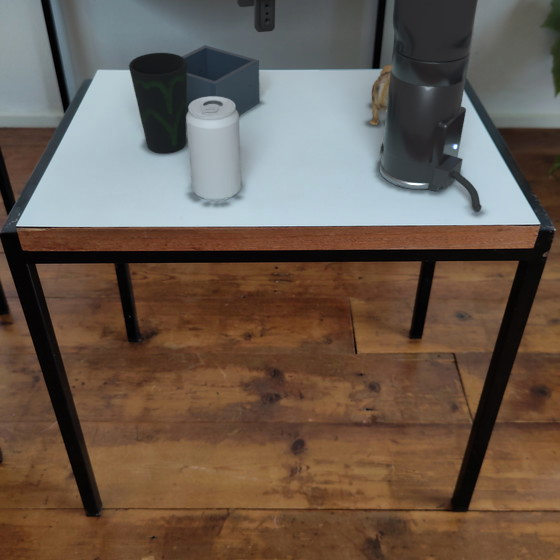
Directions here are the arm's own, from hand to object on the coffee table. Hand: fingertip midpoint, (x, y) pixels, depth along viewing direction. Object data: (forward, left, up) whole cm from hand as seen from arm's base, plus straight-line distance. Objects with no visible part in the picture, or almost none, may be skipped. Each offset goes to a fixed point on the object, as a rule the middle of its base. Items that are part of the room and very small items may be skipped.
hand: (255, 17), depth 85 cm
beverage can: (+1, +7, -21) cm, 22 cm away
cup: (+15, +1, -21) cm, 26 cm away
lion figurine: (-7, -25, -21) cm, 33 cm away
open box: (+17, -12, -21) cm, 30 cm away
